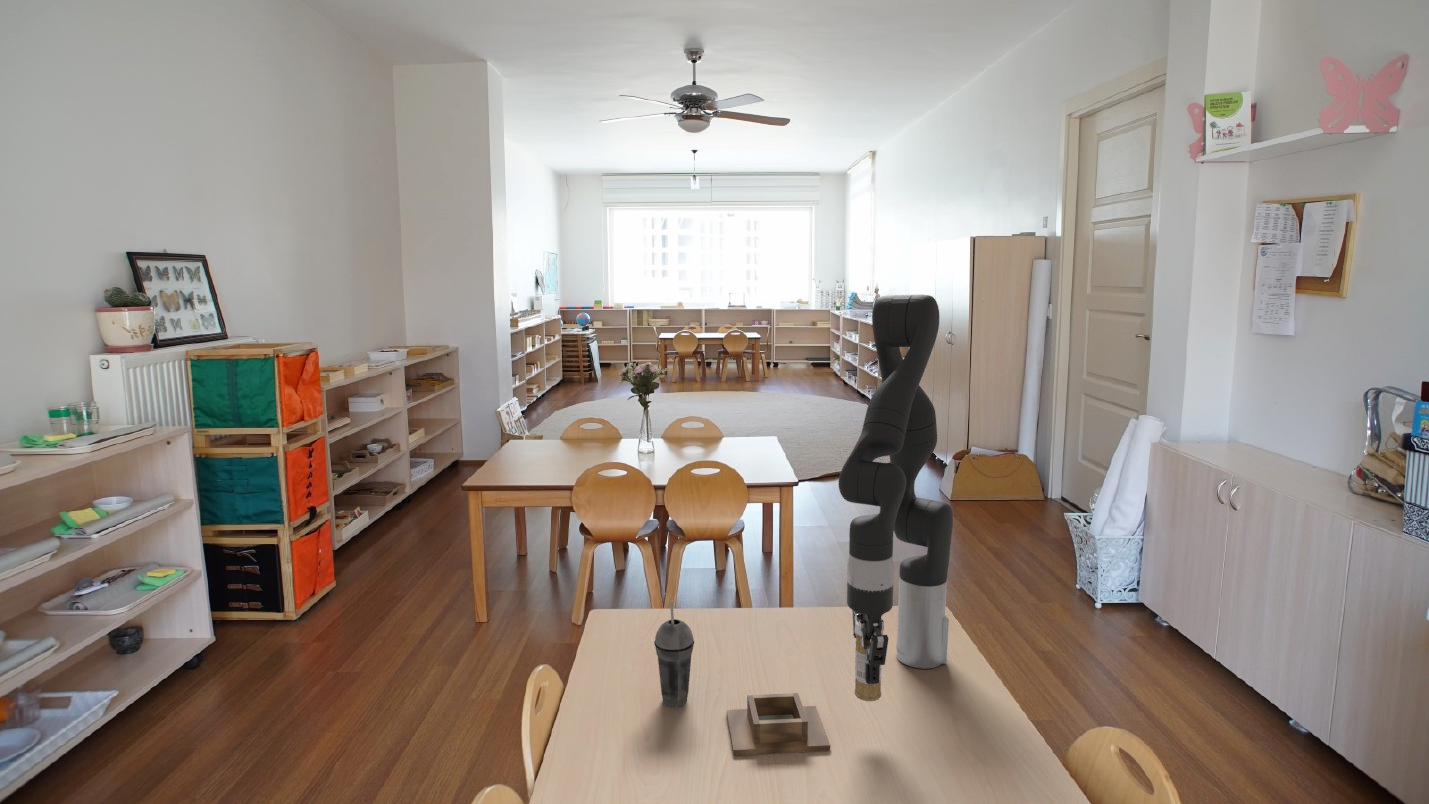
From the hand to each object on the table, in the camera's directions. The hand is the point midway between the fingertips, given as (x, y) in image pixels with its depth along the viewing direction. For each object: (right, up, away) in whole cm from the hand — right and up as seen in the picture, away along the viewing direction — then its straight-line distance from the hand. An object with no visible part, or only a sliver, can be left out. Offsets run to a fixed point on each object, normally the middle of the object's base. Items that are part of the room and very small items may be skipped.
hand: (868, 674), depth 136 cm
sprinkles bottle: (0, -4, +1) cm, 4 cm away
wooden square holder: (-15, -11, +2) cm, 19 cm away
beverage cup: (-33, -9, +12) cm, 36 cm away
